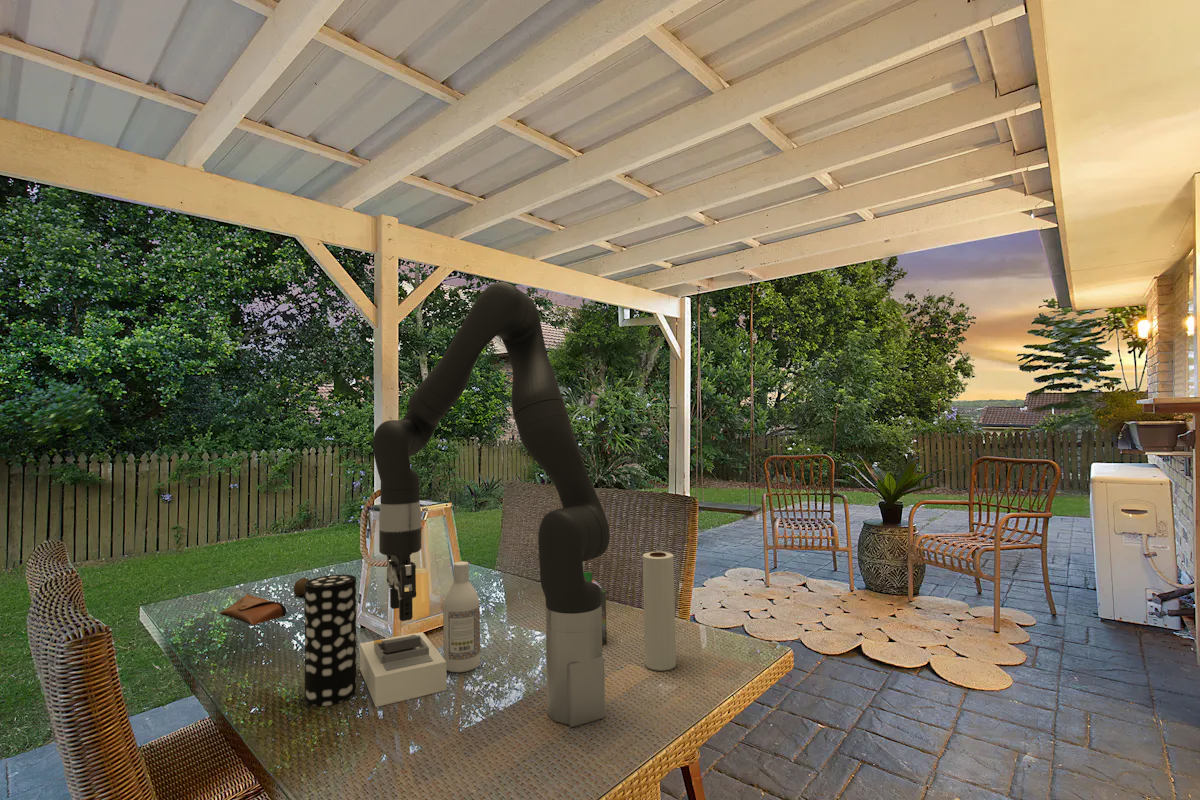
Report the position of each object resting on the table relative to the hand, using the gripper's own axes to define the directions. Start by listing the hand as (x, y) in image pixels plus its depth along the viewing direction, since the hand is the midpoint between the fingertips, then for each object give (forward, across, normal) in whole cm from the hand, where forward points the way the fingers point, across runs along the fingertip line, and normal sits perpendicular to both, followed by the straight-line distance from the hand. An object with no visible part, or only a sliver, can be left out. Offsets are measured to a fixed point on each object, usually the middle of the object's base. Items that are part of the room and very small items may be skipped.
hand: (401, 613), depth 112 cm
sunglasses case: (+13, +60, +25) cm, 66 cm away
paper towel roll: (+12, -20, -45) cm, 51 cm away
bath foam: (+12, 0, -12) cm, 17 cm away
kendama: (+13, +65, +7) cm, 66 cm away
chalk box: (+12, 0, -38) cm, 40 cm away
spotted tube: (+12, 0, +12) cm, 17 cm away
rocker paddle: (+6, 0, 0) cm, 6 cm away
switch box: (+12, 0, 0) cm, 12 cm away
